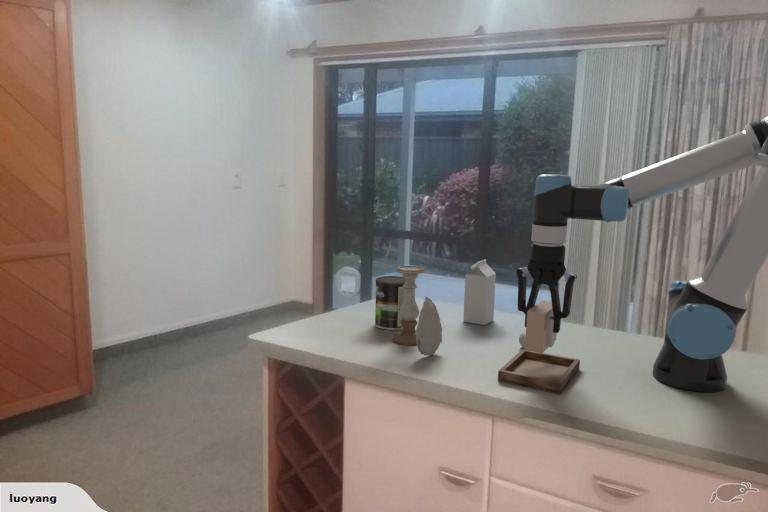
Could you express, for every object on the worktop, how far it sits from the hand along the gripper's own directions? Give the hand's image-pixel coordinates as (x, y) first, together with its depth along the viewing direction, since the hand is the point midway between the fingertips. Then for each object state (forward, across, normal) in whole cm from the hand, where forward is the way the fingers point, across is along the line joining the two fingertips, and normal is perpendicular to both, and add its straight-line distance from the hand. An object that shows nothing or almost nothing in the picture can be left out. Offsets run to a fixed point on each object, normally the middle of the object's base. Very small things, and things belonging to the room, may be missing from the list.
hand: (541, 343), depth 134 cm
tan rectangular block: (0, 0, 0) cm, 0 cm away
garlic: (+8, +8, -18) cm, 21 cm away
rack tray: (+8, 0, 0) cm, 8 cm away
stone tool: (+8, +28, +2) cm, 29 cm away
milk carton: (+8, +29, -35) cm, 46 cm away
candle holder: (+8, +38, -6) cm, 39 cm away
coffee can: (+8, +49, -16) cm, 52 cm away
